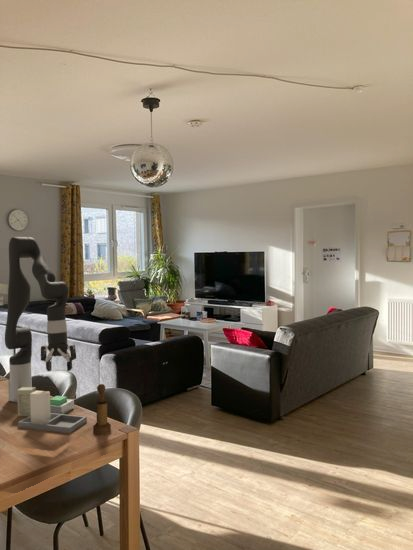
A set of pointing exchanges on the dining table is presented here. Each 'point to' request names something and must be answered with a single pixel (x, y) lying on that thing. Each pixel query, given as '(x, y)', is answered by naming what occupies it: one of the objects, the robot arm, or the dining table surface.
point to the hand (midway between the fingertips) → (59, 370)
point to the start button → (58, 400)
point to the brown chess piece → (101, 414)
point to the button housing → (62, 407)
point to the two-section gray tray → (55, 423)
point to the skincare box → (24, 400)
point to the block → (40, 407)
